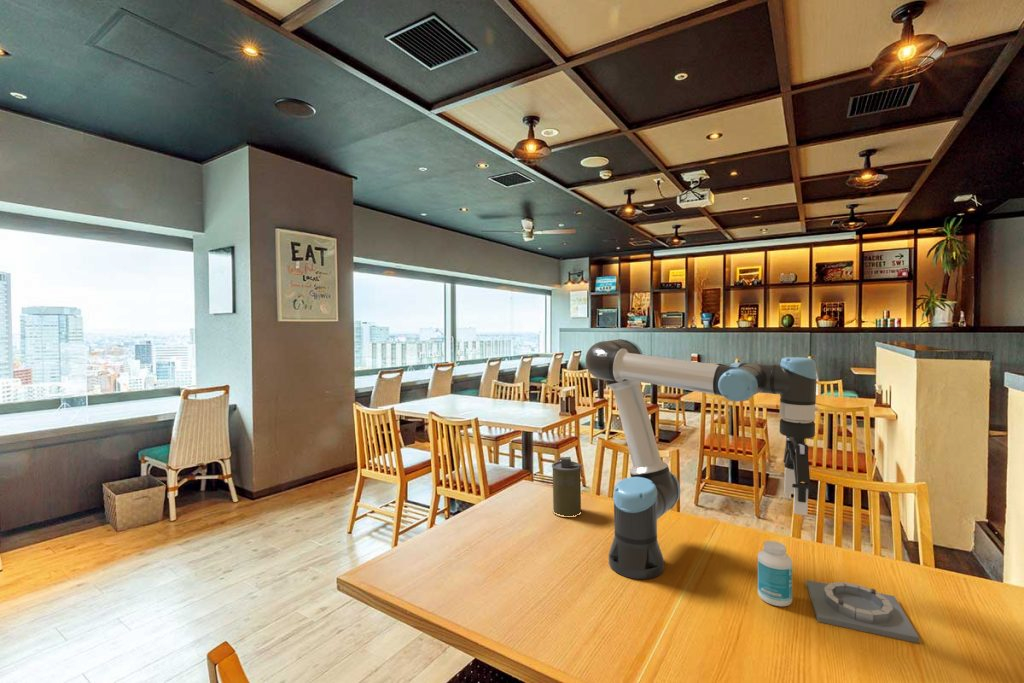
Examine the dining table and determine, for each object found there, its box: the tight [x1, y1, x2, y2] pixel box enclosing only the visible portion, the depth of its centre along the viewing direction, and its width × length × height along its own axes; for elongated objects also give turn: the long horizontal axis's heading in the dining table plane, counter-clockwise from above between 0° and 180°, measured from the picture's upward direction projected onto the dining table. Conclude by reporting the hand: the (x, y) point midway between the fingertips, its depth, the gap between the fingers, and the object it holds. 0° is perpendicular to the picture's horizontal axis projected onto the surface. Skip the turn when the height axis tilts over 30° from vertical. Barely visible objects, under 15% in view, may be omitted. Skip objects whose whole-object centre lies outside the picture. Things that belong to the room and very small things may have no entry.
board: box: [806, 579, 920, 644], centre depth 108 cm, size 18×16×1 cm
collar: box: [824, 581, 893, 624], centre depth 107 cm, size 12×12×3 cm
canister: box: [551, 456, 584, 516], centre depth 166 cm, size 11×10×20 cm
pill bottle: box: [757, 540, 793, 607], centre depth 113 cm, size 8×7×14 cm
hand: (795, 503), depth 115 cm, fingers open, 13 cm apart
